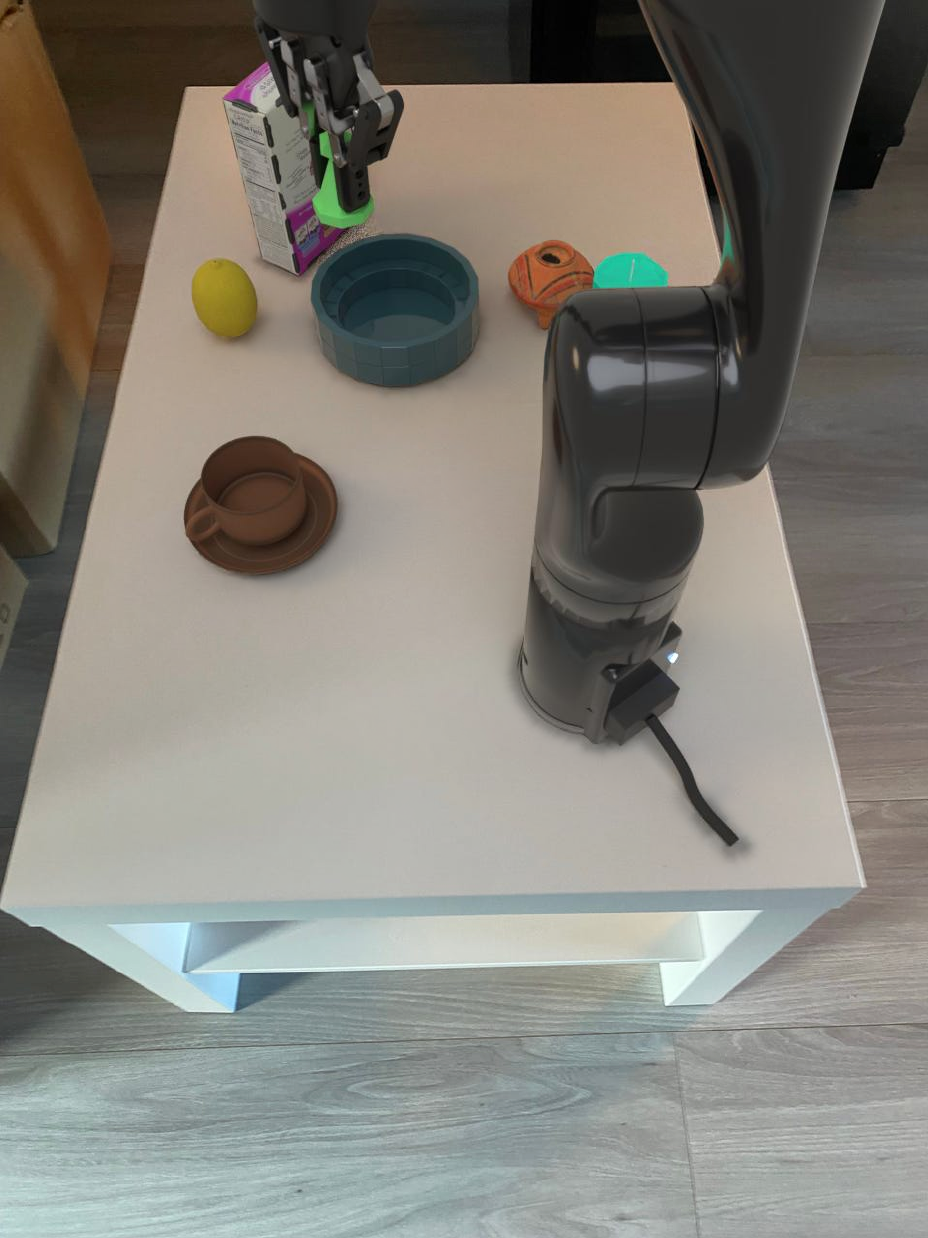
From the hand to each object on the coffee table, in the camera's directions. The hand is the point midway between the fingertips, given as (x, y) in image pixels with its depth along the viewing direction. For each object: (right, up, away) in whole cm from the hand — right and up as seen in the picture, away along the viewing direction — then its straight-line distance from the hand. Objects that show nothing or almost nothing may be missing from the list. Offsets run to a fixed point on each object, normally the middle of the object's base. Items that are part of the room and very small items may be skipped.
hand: (343, 195), depth 66 cm
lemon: (-13, -4, +21) cm, 24 cm away
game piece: (0, -1, +1) cm, 1 cm away
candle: (+22, -8, +18) cm, 29 cm away
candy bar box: (-7, +8, +28) cm, 29 cm away
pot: (+16, -1, +22) cm, 28 cm away
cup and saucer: (-7, -22, +10) cm, 25 cm away
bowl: (+2, -3, +21) cm, 21 cm away
